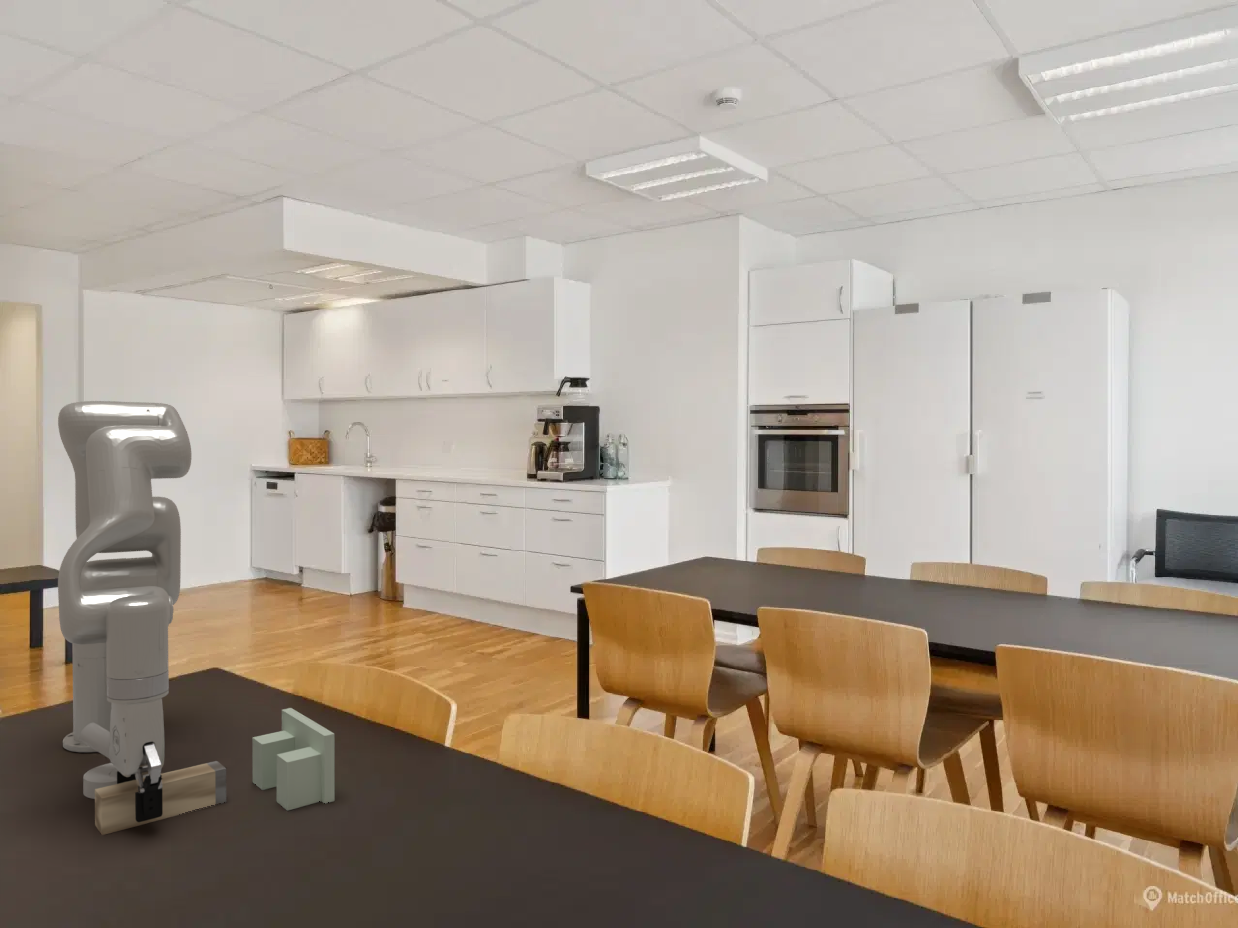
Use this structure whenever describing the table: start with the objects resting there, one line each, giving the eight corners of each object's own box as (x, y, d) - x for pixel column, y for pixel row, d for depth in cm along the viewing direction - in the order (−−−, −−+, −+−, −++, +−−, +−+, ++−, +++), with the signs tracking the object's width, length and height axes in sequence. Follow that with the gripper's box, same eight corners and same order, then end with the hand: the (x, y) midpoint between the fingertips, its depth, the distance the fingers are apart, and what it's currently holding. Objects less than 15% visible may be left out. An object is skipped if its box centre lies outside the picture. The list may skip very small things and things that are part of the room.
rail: (95, 824, 120) (94, 789, 120) (217, 793, 131) (216, 760, 131) (102, 834, 117) (101, 798, 117) (226, 802, 128) (226, 768, 128)
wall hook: (105, 713, 138) (160, 718, 136) (106, 773, 138) (161, 779, 136) (60, 731, 130) (118, 737, 128) (61, 795, 130) (119, 801, 128)
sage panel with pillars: (249, 779, 136) (249, 716, 136) (291, 769, 141) (290, 707, 140) (290, 813, 124) (290, 743, 124) (334, 800, 129) (334, 733, 128)
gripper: (92, 677, 125) (94, 795, 126) (124, 705, 113) (125, 836, 113) (150, 668, 130) (151, 782, 131) (186, 694, 118) (187, 819, 118)
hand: (139, 807), depth 122 cm, fingers open, 9 cm apart
